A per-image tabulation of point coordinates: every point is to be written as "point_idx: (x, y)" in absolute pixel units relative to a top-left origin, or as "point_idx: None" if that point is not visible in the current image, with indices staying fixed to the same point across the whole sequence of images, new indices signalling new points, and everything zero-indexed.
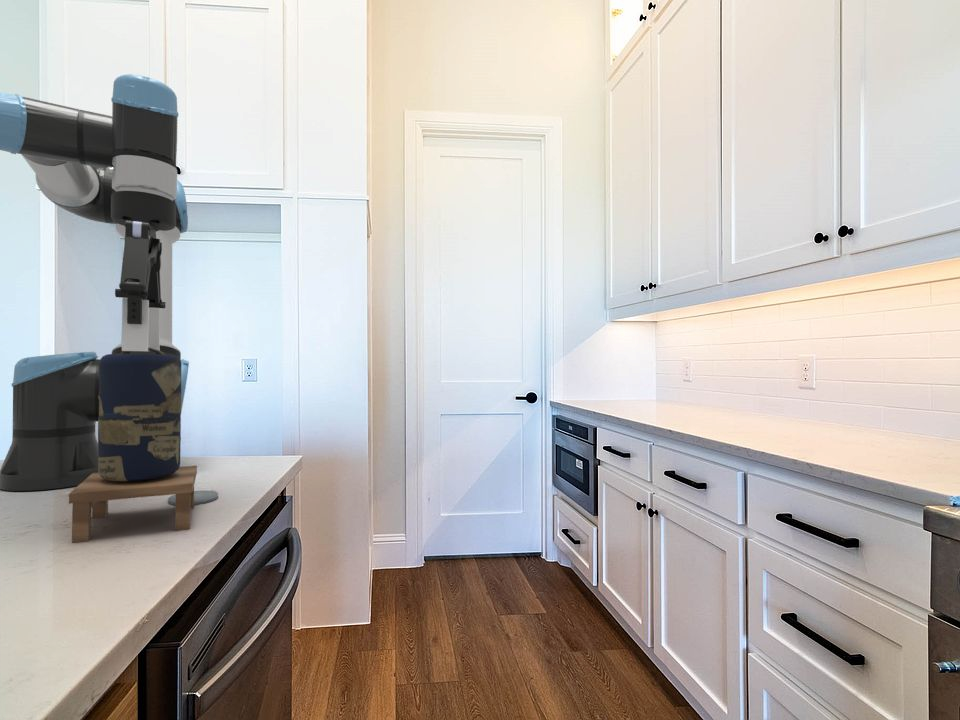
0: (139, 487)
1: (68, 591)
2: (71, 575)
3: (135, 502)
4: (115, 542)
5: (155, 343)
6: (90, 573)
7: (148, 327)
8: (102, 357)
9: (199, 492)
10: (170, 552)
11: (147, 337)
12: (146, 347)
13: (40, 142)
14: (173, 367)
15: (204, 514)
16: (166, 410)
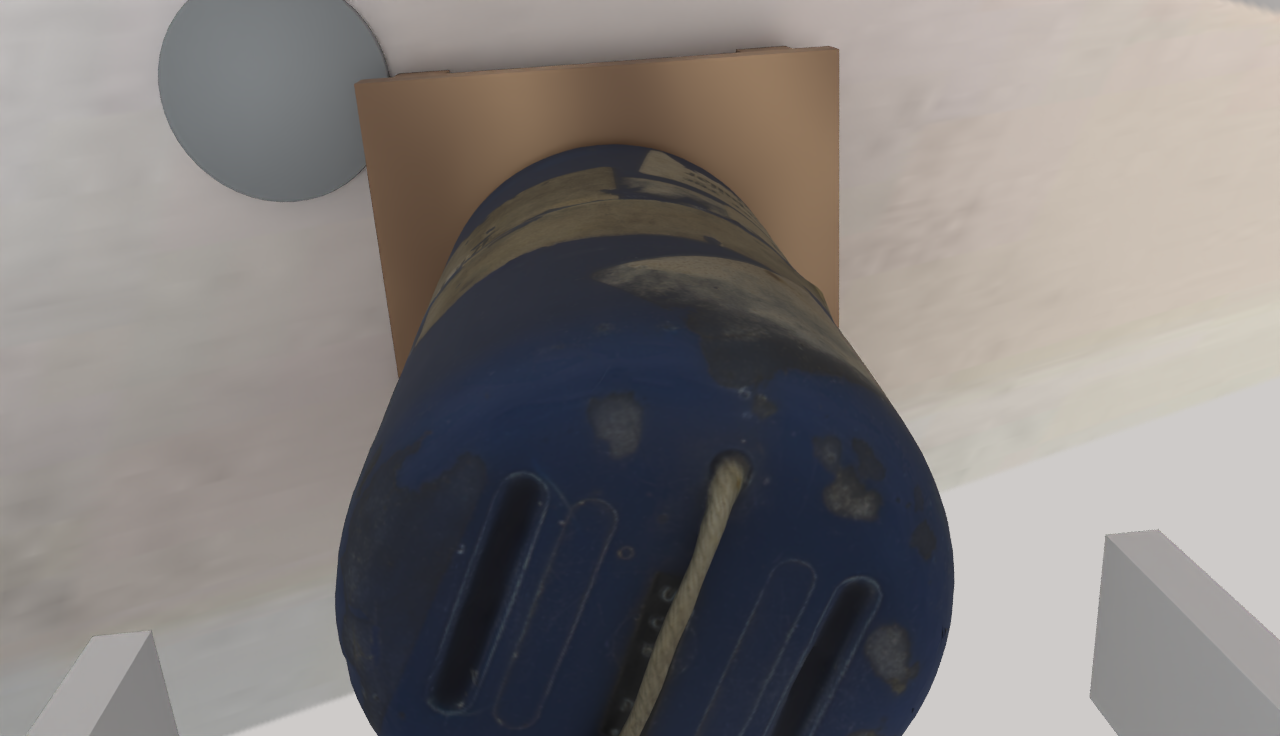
0: (827, 262)
1: (1233, 283)
2: (1110, 312)
3: (263, 332)
4: (842, 273)
5: (129, 716)
6: (1120, 268)
7: (1240, 668)
8: None
9: (203, 70)
10: (1039, 74)
11: (1229, 600)
12: (1178, 553)
13: None
14: (803, 332)
15: (575, 8)
16: (791, 268)
